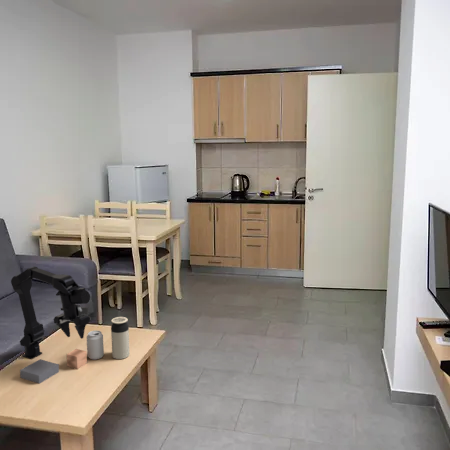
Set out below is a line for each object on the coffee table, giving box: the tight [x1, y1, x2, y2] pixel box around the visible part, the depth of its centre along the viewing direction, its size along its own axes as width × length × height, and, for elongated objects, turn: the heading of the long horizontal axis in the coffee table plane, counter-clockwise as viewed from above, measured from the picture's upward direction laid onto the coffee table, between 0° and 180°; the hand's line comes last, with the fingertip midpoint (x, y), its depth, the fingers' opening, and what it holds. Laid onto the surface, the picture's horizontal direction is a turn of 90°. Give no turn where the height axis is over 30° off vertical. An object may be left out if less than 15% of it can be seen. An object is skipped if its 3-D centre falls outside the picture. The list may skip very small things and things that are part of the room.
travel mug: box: [110, 316, 130, 360], centre depth 216 cm, size 8×8×18 cm
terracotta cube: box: [66, 348, 88, 370], centre depth 208 cm, size 6×6×6 cm
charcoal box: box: [19, 358, 60, 385], centre depth 199 cm, size 11×11×4 cm
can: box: [86, 330, 105, 360], centre depth 216 cm, size 8×8×12 cm
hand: (75, 337), depth 206 cm, fingers open, 9 cm apart
